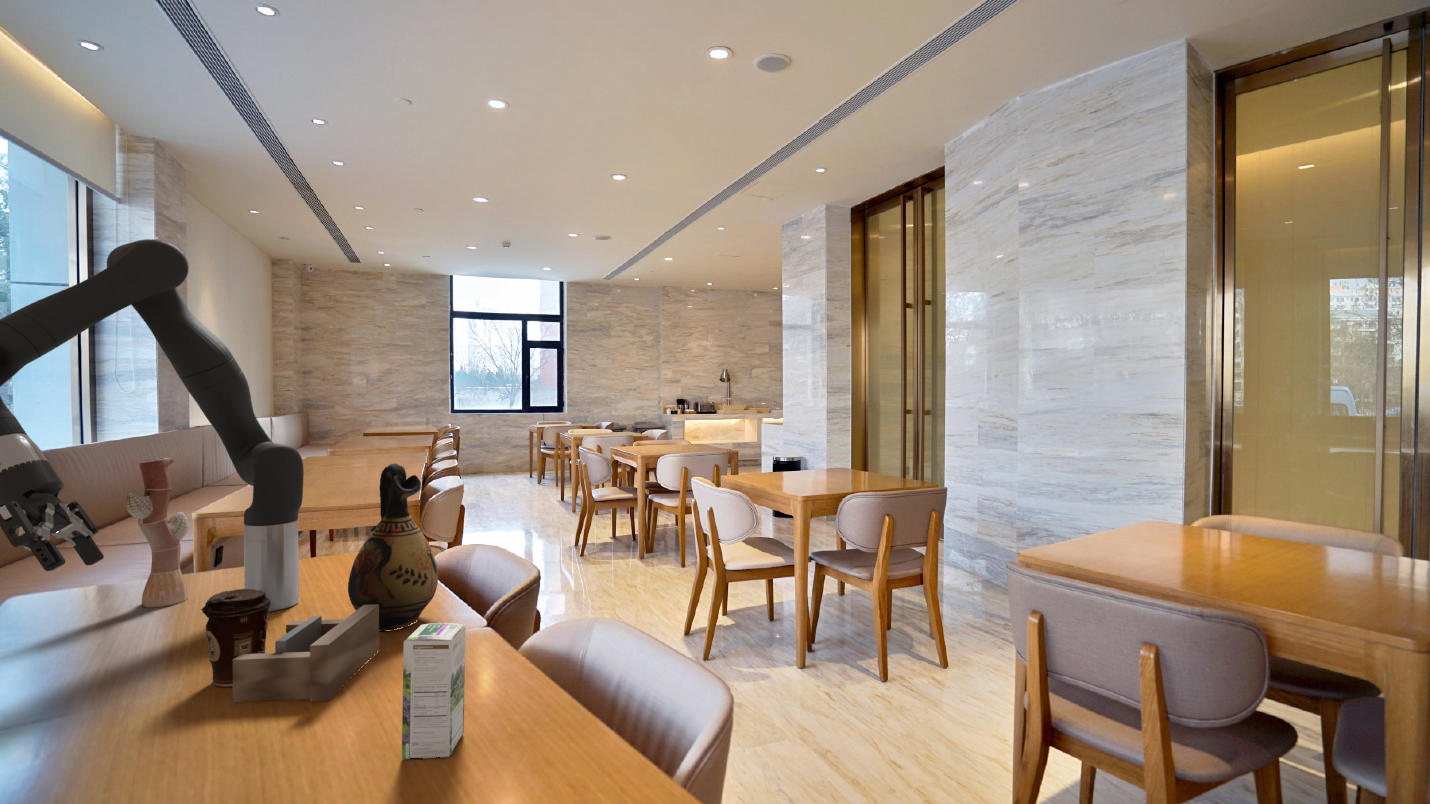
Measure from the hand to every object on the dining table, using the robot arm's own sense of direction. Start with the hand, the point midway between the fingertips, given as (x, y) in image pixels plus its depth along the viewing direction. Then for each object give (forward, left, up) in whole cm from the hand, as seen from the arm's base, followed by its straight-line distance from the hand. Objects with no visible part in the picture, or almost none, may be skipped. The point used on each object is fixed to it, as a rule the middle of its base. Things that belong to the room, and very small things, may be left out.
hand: (77, 564), depth 96 cm
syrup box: (+21, +57, -19) cm, 63 cm away
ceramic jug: (-26, +35, -19) cm, 47 cm away
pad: (-2, +30, -18) cm, 35 cm away
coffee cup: (-2, +21, -19) cm, 28 cm away
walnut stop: (-2, +31, -18) cm, 36 cm away
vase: (-42, -17, -19) cm, 49 cm away
